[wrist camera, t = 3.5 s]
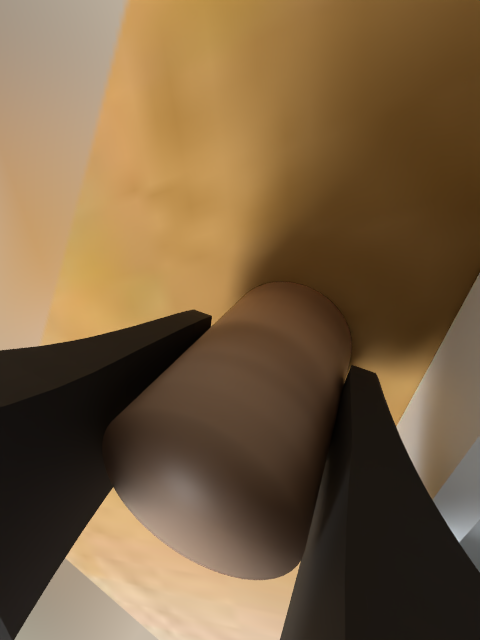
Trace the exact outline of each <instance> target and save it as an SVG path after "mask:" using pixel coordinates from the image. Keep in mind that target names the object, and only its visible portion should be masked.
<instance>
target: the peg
mask: <svg viewBox="0 0 480 640" xmlns="http://www.w3.org/2000/svg"><path fill="white" fill-rule="evenodd" d="M351 351H352V339H351V334H350V330H349V327H348V324H347V323H346V321H345V319H344V317H343V315H342V314H341V312H340V311H339V309H338V308H337V307H336V306H335V305H334V304H333V303H332V302H331V301H330V300H329V299H328V298H326V297H325V296H324V295H322V294H321V293H319V292H318V291H316V290H314V289H312V288H310V287H307V286H304V285H301V284H297V283H292V282H272V283H267V284H263V285H260V286H258V287H256V288H254V289H252V290H251V291H249V292H248V293H246V294H245V295H244V296H243V297H242V298H241V299H240V300H239V301H238V302H237V303H236V304H235V305H234V306H233V307H232V308H230V309H229V310H228V311H227V312H226V313H225V314H224V315H223V316H222V317H221V318H220V319H219V320H218V321H217V322H216V323H215V324H214V325H213V326H212V327H210V328H209V329H208V330H207V331H206V332H205V333H204V334H203V335H202V336H201V337H200V338H199V339H198V340H197V341H196V342H195V343H194V344H193V345H192V346H190V347H189V348H188V349H187V350H186V351H185V352H184V353H183V354H182V355H181V356H180V357H179V358H178V359H177V360H176V361H175V362H174V363H173V364H172V365H170V366H169V367H168V368H167V369H166V370H165V371H164V372H163V373H162V374H161V375H160V376H159V377H158V378H157V379H156V380H155V381H154V382H153V383H152V384H150V385H149V386H148V387H147V388H146V389H145V390H144V391H143V392H142V393H141V394H140V395H139V396H138V397H137V398H136V399H135V400H134V401H133V402H131V403H130V404H129V405H128V406H127V407H126V408H125V409H124V410H123V411H122V412H121V413H120V414H119V415H118V416H117V417H116V418H115V419H114V420H113V421H111V423H110V424H109V426H108V427H107V429H106V431H105V434H104V436H103V442H102V455H103V461H104V465H105V468H106V472H107V474H108V476H109V479H110V481H111V483H112V485H113V487H114V489H115V490H116V492H117V494H118V495H119V497H120V498H121V500H122V501H123V502H124V504H125V505H126V506H127V508H128V509H129V510H130V511H131V513H132V514H133V515H134V516H135V517H136V518H137V519H138V520H139V521H140V522H141V523H142V524H143V525H144V527H146V528H147V529H148V530H149V531H150V532H151V533H152V534H153V535H154V536H156V537H157V538H158V539H159V540H161V541H162V542H163V543H164V544H166V545H167V546H169V547H170V548H172V549H173V550H174V551H176V552H177V553H179V554H181V555H182V556H184V557H186V558H187V559H189V560H191V561H193V562H195V563H197V564H199V565H201V566H203V567H205V568H208V569H210V570H213V571H215V572H218V573H221V574H224V575H228V576H231V577H236V578H241V579H248V580H267V579H274V578H277V577H280V576H283V575H285V574H287V573H289V572H290V571H292V570H293V569H294V568H295V567H296V566H297V565H298V564H299V562H300V561H301V559H302V558H303V554H304V551H305V548H306V544H307V540H308V536H309V531H310V527H311V523H312V519H313V514H314V510H315V506H316V502H317V497H318V493H319V489H320V485H321V480H322V476H323V472H324V468H325V463H326V459H327V455H328V451H329V447H330V442H331V438H332V434H333V430H334V425H335V421H336V417H337V412H338V407H339V403H340V399H341V394H342V390H343V386H344V383H345V379H346V374H347V370H348V366H349V362H350V358H351Z"/></svg>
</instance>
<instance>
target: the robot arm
mask: <svg viewBox="0 0 480 640" xmlns="http://www.w3.org/2000/svg"><path fill="white" fill-rule="evenodd" d="M211 320H212V316H211V315H208V314H205V313H202V312H199V311H196V310H189V311H185V312H181V313H177V314H174V315H170V316H167V317H164V318H160V319H157V320H153V321H150V322H147V323H143V324H140V325H136V326H133V327H129V328H125V329H121V330H117V331H113V332H109V333H105V334H102V335H98V336H94V337H89V338H84V339H79V340H74V341H69V342H63V343H57V344H51V345H45V346H37V347H29V348H19V349H10V350H2V351H0V640H14V639H15V637H16V636H17V634H18V632H19V631H20V629H21V627H22V626H23V624H24V622H25V621H26V619H27V617H28V616H29V614H30V613H31V611H32V609H33V608H34V606H35V605H36V603H37V601H38V600H39V598H40V596H41V595H42V593H43V591H44V590H45V588H46V587H47V585H48V583H49V582H50V580H51V579H52V577H53V575H54V574H55V572H56V571H57V569H58V568H59V566H60V565H61V563H62V562H63V560H64V559H65V557H66V556H67V554H68V552H69V551H70V549H71V548H72V546H73V545H74V543H75V542H76V540H77V539H78V537H79V536H80V534H81V533H82V531H83V530H84V528H85V527H86V525H87V524H88V522H89V521H90V519H91V518H92V517H93V515H94V514H95V512H96V511H97V509H98V508H99V506H100V505H101V504H102V502H103V501H104V499H105V498H106V496H107V495H108V494H109V492H110V491H111V489H112V488H113V485H112V483H111V481H110V479H109V476H108V474H107V472H106V468H105V465H104V461H103V455H102V442H103V436H104V434H105V431H106V429H107V427H108V426H109V424H110V423H111V421H113V420H114V419H115V418H116V417H117V416H118V415H119V414H120V413H121V412H122V411H123V410H124V409H125V408H126V407H127V406H128V405H129V404H130V403H131V402H133V401H134V400H135V399H136V398H137V397H138V396H139V395H140V394H141V393H142V392H143V391H144V390H145V389H146V388H147V387H148V386H149V385H150V384H152V383H153V382H154V381H155V380H156V379H157V378H158V377H159V376H160V375H161V374H162V373H163V372H164V371H165V370H166V369H167V368H168V367H169V366H170V365H172V364H173V363H174V362H175V361H176V360H177V359H178V358H179V357H180V356H181V355H182V354H183V353H184V352H185V351H186V350H187V349H188V348H189V347H190V346H192V345H193V344H194V343H195V342H196V341H197V340H198V339H199V338H200V337H201V336H202V335H203V334H204V333H205V332H206V331H207V330H208V329H209V328H210V327H211ZM280 640H480V572H479V571H478V569H477V568H476V566H475V565H474V564H473V562H472V561H471V559H470V558H469V556H468V555H467V554H466V552H465V551H464V549H463V548H462V546H461V545H460V543H459V542H458V540H457V539H456V537H455V536H454V534H453V532H452V531H451V529H450V528H449V526H448V525H447V523H446V521H445V520H444V518H443V516H442V515H441V513H440V511H439V510H438V508H437V507H436V505H435V503H434V502H433V500H432V498H431V497H430V495H429V493H428V491H427V489H426V488H425V486H424V484H423V482H422V480H421V478H420V476H419V475H418V473H417V471H416V469H415V467H414V465H413V463H412V461H411V459H410V457H409V455H408V452H407V450H406V448H405V446H404V444H403V442H402V439H401V437H400V435H399V432H398V430H397V428H396V425H395V423H394V421H393V418H392V416H391V413H390V411H389V408H388V405H387V403H386V400H385V397H384V394H383V391H382V388H381V385H380V382H379V379H378V377H377V375H376V373H373V372H371V371H368V370H365V369H362V368H359V367H356V366H353V365H351V368H350V370H349V373H348V375H347V378H346V380H345V383H344V386H343V390H342V394H341V399H340V403H339V407H338V412H337V417H336V421H335V425H334V430H333V434H332V438H331V442H330V447H329V451H328V455H327V459H326V463H325V468H324V472H323V476H322V480H321V485H320V489H319V493H318V497H317V502H316V506H315V510H314V514H313V519H312V523H311V527H310V531H309V536H308V540H307V544H306V548H305V551H304V554H303V558H302V559H301V563H300V566H299V570H298V574H297V578H296V582H295V585H294V589H293V593H292V597H291V601H290V604H289V608H288V612H287V616H286V619H285V623H284V627H283V631H282V634H281V638H280Z"/></svg>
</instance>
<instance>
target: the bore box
mask: <svg viewBox="0 0 480 640" xmlns="http://www.w3.org/2000/svg"><path fill="white" fill-rule="evenodd" d="M396 428H397V430H398V432H399V435H400V437H401V439H402V442H403V444H404V446H405V448H406V450H407V452H408V455H409V457H410V459H411V461H412V463H413V465H414V467H415V469H416V471H417V473H418V475H419V476H420V478H421V480H422V482H423V484H424V486H425V488H426V489H427V491H428V493H429V495H430V497H431V498H432V500H433V502H434V503H435V505H436V507H437V508H438V510H439V511H440V513H441V515H442V516H443V518H444V520H445V521H446V523H447V525H448V526H449V528H450V529H451V531H452V532H453V534H454V536H455V537H456V539H457V540H458V542H459V543H460V545H461V546H462V548H463V549H464V551H465V552H466V554H467V555H468V556H469V558H470V559H471V561H472V562H473V564H474V565H475V566H476V568H477V569H478V571H479V572H480V273H479V275H478V277H477V279H476V281H475V282H474V284H473V286H472V288H471V290H470V292H469V293H468V295H467V297H466V299H465V301H464V303H463V305H462V306H461V308H460V310H459V312H458V314H457V316H456V317H455V319H454V321H453V323H452V325H451V327H450V329H449V330H448V332H447V334H446V336H445V338H444V340H443V342H442V343H441V345H440V347H439V349H438V351H437V353H436V354H435V356H434V358H433V360H432V362H431V364H430V366H429V367H428V369H427V371H426V373H425V375H424V377H423V378H422V380H421V382H420V384H419V386H418V388H417V390H416V391H415V393H414V395H413V397H412V399H411V401H410V403H409V404H408V406H407V408H406V410H405V412H404V414H403V415H402V417H401V419H400V421H399V423H398V425H397V427H396Z"/></svg>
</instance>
